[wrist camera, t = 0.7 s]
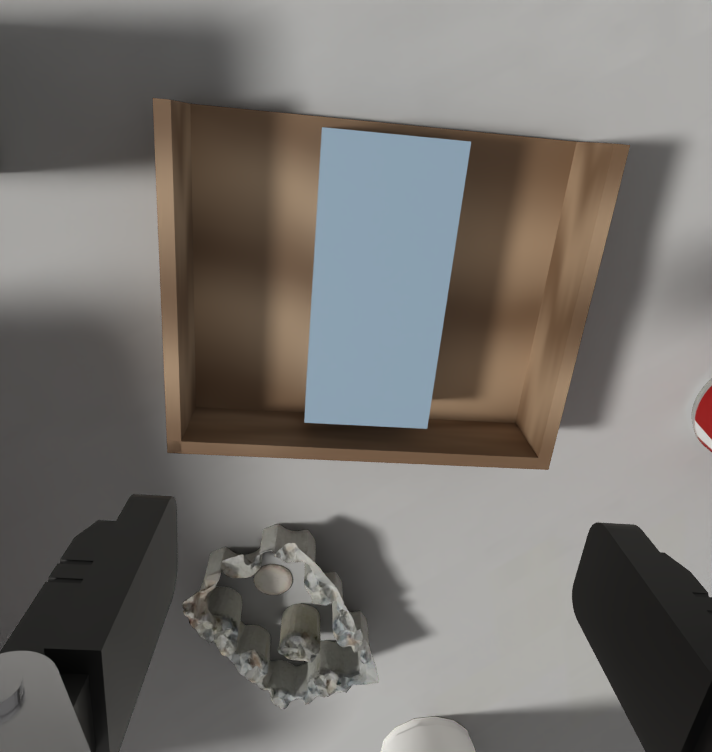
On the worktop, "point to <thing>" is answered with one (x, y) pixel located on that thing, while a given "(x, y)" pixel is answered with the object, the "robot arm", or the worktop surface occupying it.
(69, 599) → the robot arm
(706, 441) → the soda can
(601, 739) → the worktop surface
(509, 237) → the walnut box
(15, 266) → the worktop surface
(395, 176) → the light blue block
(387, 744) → the foam cup
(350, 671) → the egg carton
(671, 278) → the worktop surface
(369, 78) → the worktop surface
